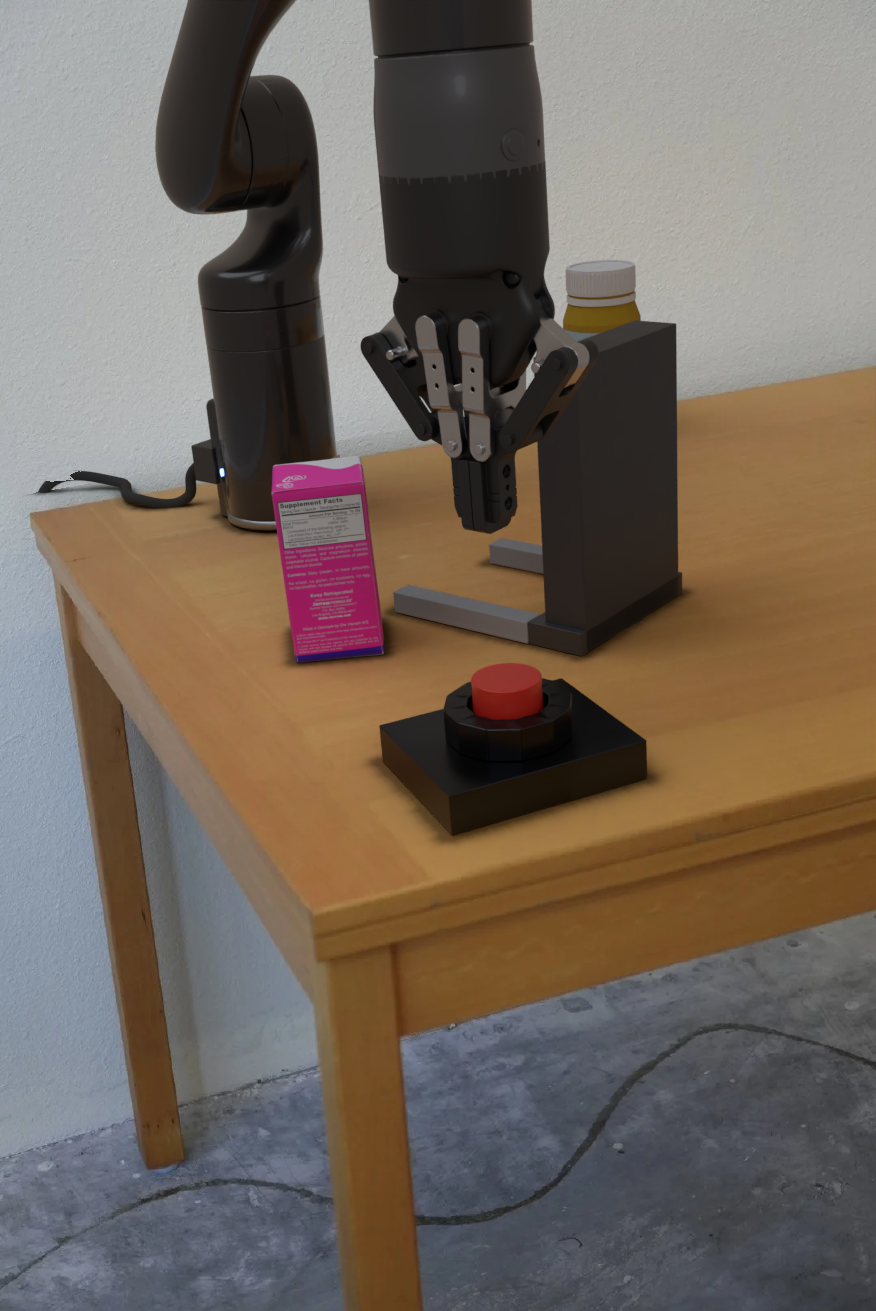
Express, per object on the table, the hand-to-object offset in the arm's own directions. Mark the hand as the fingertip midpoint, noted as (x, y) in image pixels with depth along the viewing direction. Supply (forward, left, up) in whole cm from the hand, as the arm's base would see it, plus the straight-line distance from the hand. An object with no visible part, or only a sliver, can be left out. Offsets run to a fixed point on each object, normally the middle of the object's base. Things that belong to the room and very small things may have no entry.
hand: (486, 527), depth 73 cm
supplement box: (-19, +8, -13) cm, 24 cm away
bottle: (-31, +58, -13) cm, 67 cm away
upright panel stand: (-11, +20, -13) cm, 26 cm away
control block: (+1, 0, -13) cm, 13 cm away
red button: (+1, 0, -10) cm, 10 cm away
